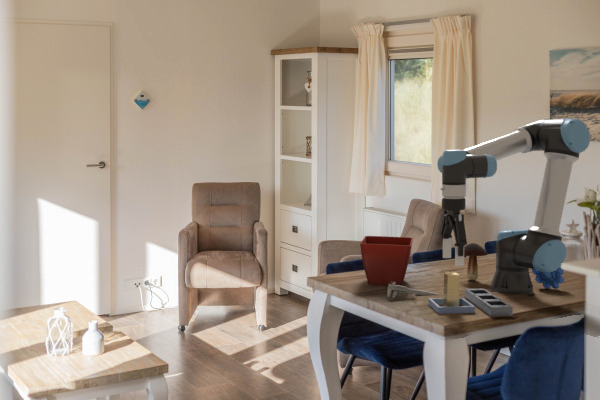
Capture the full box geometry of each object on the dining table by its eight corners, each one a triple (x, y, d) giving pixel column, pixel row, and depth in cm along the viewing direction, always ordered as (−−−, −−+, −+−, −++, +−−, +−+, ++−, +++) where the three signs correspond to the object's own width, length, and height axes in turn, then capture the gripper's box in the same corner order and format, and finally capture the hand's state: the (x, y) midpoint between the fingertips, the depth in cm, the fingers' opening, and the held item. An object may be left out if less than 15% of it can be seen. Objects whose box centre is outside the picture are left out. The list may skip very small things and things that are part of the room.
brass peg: (455, 307, 234) (455, 272, 233) (458, 311, 230) (459, 274, 229) (443, 308, 234) (444, 272, 233) (446, 311, 230) (447, 275, 229)
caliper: (387, 299, 250) (388, 281, 249) (387, 298, 251) (387, 281, 250) (443, 298, 252) (444, 280, 251) (443, 297, 253) (443, 280, 252)
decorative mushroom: (455, 281, 278) (456, 244, 276) (462, 276, 287) (463, 240, 286) (483, 284, 273) (484, 246, 271) (489, 279, 282) (490, 242, 281)
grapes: (529, 289, 265) (530, 257, 264) (532, 285, 271) (533, 255, 270) (562, 292, 259) (563, 260, 258) (564, 289, 265) (565, 257, 264)
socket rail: (464, 299, 248) (464, 288, 248) (483, 299, 249) (484, 288, 248) (490, 319, 222) (491, 307, 222) (512, 319, 223) (512, 306, 222)
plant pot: (409, 289, 265) (410, 244, 263) (359, 286, 268) (359, 243, 267) (412, 278, 283) (412, 237, 282) (364, 276, 287) (365, 235, 285)
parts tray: (462, 306, 239) (463, 297, 238) (474, 315, 227) (474, 306, 227) (428, 307, 238) (428, 298, 237) (438, 316, 226) (438, 307, 225)
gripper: (431, 193, 240) (431, 255, 243) (454, 201, 216) (453, 269, 218) (453, 193, 241) (452, 254, 243) (477, 201, 216) (477, 269, 219)
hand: (453, 261), depth 231 cm, fingers open, 13 cm apart
